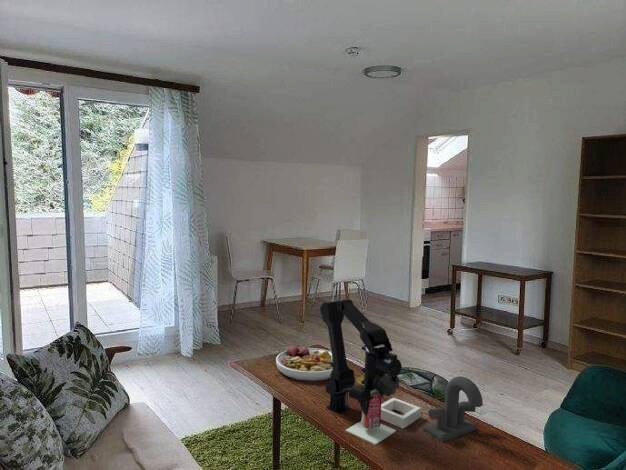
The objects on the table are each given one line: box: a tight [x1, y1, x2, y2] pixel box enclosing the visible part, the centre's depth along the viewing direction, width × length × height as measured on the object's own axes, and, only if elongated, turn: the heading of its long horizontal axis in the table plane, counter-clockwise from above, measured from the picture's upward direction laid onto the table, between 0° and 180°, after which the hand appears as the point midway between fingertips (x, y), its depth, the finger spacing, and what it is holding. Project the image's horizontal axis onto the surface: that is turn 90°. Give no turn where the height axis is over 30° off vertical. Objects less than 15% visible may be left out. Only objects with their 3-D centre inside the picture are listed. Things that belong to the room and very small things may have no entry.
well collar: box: [381, 397, 422, 429], centre depth 167 cm, size 12×12×4 cm
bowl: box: [275, 345, 333, 382], centre depth 209 cm, size 30×30×8 cm
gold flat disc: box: [356, 375, 365, 387], centre depth 194 cm, size 12×12×2 cm
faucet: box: [422, 376, 484, 443], centre depth 155 cm, size 18×16×20 cm
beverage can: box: [361, 390, 383, 430], centre depth 156 cm, size 6×6×12 cm
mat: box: [345, 420, 397, 446], centre depth 156 cm, size 12×12×1 cm
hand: (371, 411), depth 156 cm, fingers closed on beverage can, 6 cm apart
